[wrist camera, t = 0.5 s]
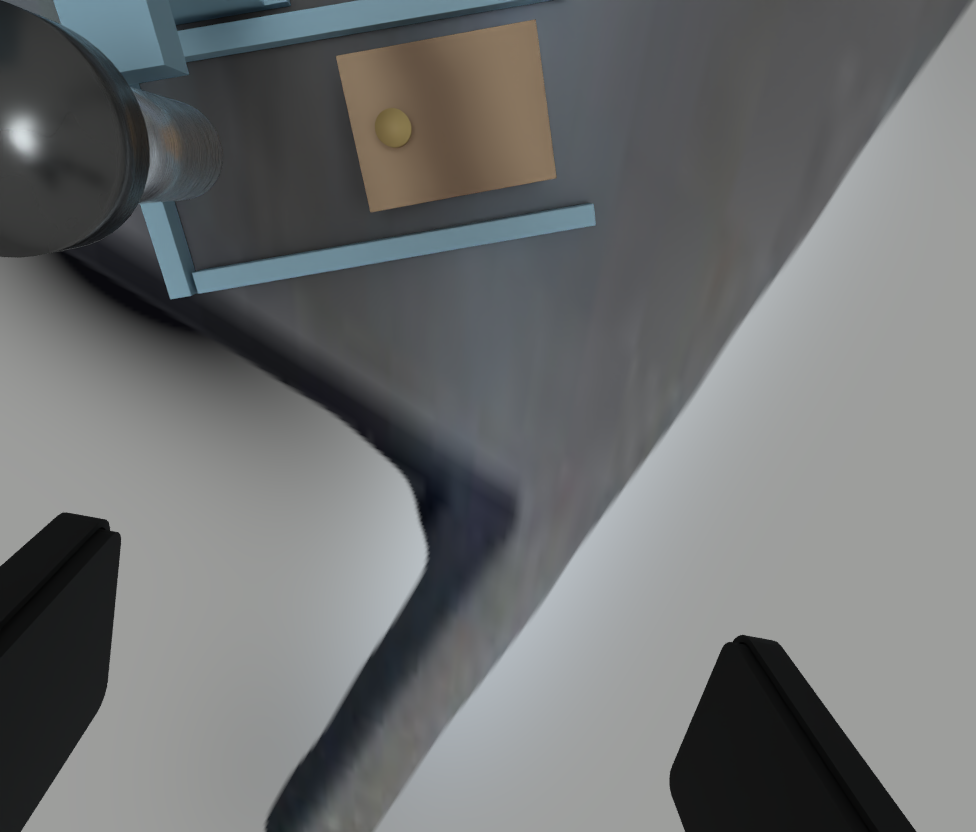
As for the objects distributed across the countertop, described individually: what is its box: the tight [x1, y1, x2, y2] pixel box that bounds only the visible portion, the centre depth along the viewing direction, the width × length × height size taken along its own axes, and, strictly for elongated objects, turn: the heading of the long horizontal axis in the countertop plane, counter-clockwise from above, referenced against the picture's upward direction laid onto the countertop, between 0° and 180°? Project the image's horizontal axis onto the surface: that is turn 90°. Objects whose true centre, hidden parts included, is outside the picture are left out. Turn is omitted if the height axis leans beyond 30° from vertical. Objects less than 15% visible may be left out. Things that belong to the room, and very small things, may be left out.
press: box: [53, 0, 596, 299], centre depth 20 cm, size 21×16×24 cm
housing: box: [336, 19, 556, 212], centre depth 30 cm, size 8×6×6 cm
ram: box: [0, 0, 223, 257], centre depth 17 cm, size 5×5×10 cm
